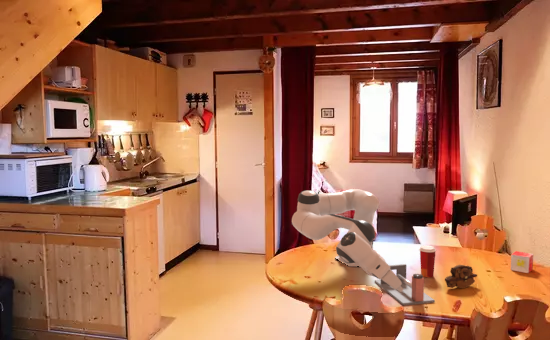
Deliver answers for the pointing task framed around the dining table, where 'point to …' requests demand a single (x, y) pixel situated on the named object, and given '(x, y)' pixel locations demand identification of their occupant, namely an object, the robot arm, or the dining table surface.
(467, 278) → the wooden carving
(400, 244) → the dining table surface
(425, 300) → the gray stand
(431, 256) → the paper cup
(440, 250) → the dining table surface
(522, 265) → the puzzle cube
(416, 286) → the pink l-shaped bar
